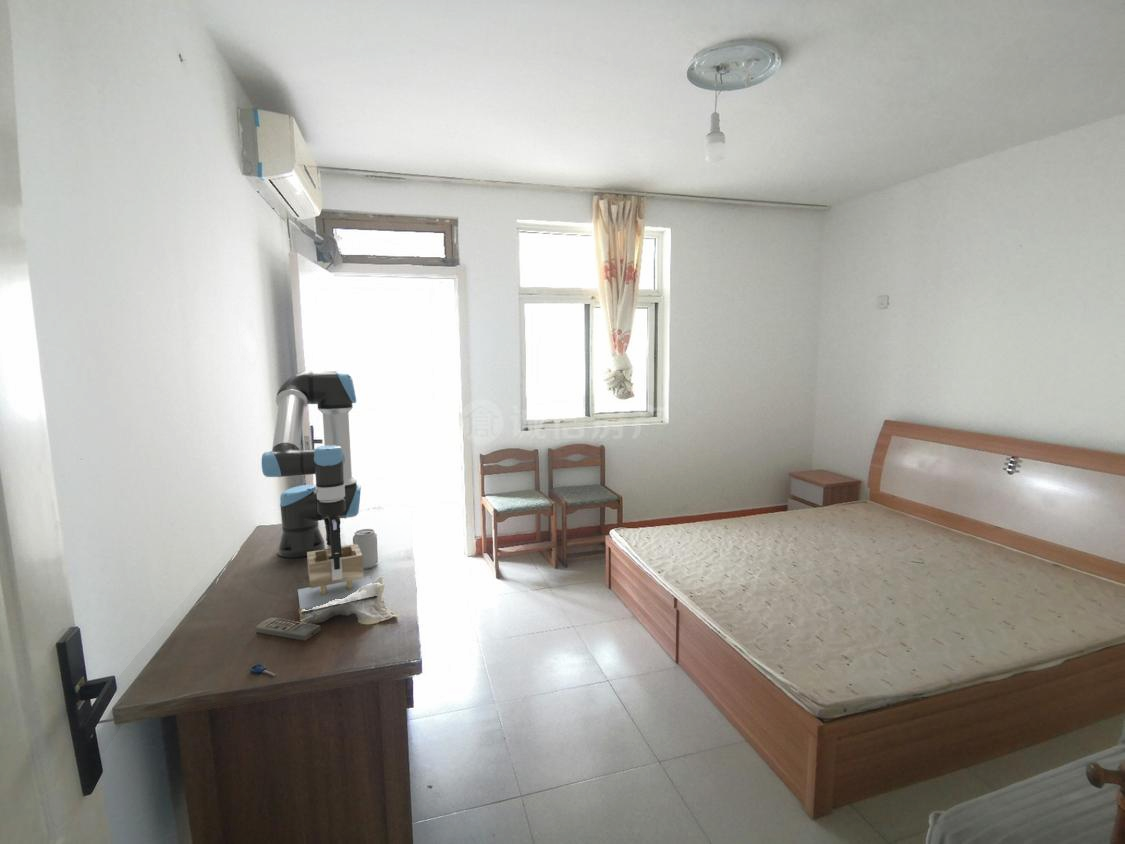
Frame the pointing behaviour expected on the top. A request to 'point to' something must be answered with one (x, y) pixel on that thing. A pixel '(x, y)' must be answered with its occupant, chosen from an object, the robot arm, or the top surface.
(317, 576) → the wooden cubby shelf
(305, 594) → the panel
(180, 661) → the top surface
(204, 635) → the top surface
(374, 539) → the can
